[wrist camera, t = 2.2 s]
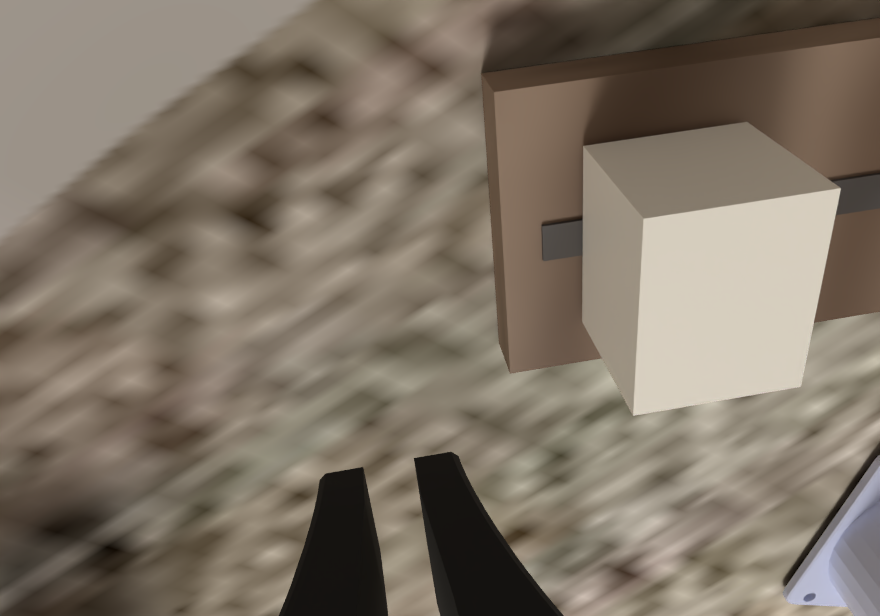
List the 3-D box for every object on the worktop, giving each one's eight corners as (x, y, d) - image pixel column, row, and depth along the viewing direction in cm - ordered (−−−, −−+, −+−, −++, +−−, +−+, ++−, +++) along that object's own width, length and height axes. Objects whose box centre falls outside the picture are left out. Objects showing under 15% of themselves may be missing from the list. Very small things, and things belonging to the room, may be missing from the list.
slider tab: (747, 121, 19) (841, 188, 15) (725, 298, 21) (800, 386, 18) (583, 146, 18) (643, 219, 15) (582, 321, 21) (633, 415, 18)
